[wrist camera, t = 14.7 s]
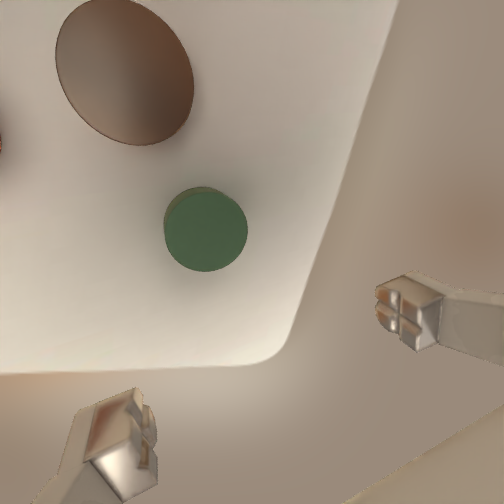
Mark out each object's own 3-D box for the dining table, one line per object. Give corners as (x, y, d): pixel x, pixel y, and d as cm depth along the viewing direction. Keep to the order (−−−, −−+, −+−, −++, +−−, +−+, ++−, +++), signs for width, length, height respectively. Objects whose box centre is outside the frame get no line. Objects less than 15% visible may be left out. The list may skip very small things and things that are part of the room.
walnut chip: (100, -11, 14) (89, -43, 11) (206, 74, 16) (215, 63, 14) (51, 102, 15) (32, 94, 12) (159, 165, 17) (160, 168, 15)
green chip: (186, 171, 20) (190, 175, 18) (251, 210, 23) (262, 217, 21) (149, 241, 21) (149, 252, 19) (216, 270, 24) (223, 283, 22)
